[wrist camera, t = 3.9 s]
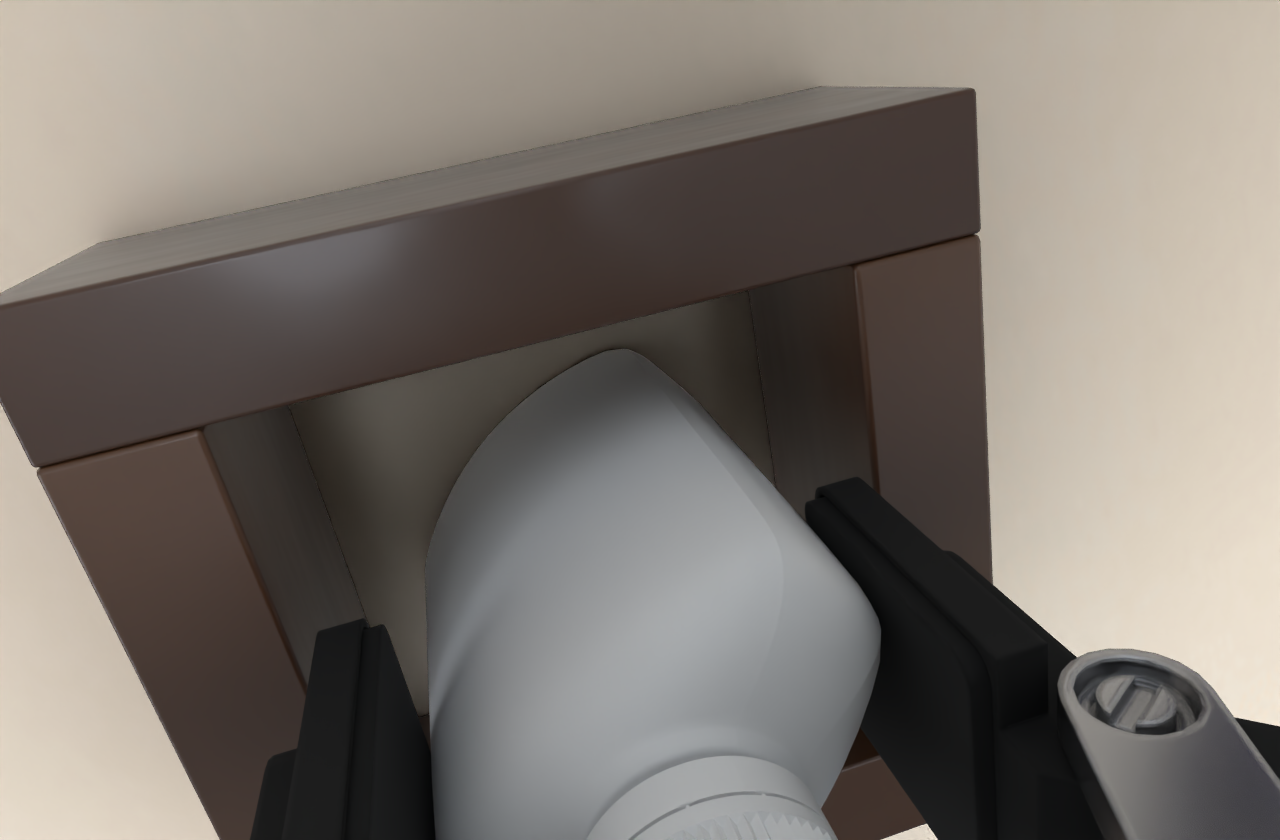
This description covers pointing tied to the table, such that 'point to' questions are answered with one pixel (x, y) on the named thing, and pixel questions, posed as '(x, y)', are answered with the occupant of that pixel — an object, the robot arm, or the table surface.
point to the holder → (480, 326)
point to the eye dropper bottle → (635, 629)
